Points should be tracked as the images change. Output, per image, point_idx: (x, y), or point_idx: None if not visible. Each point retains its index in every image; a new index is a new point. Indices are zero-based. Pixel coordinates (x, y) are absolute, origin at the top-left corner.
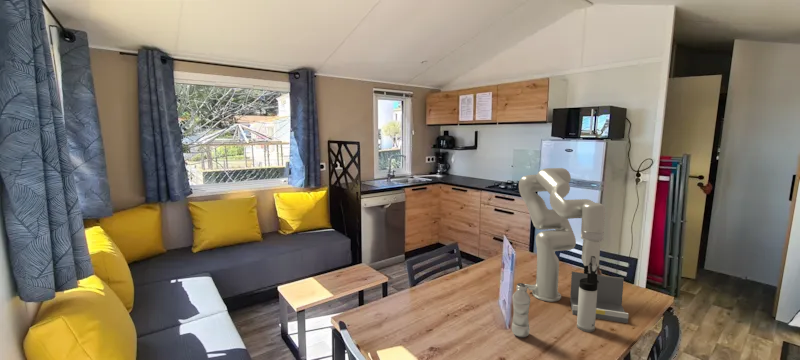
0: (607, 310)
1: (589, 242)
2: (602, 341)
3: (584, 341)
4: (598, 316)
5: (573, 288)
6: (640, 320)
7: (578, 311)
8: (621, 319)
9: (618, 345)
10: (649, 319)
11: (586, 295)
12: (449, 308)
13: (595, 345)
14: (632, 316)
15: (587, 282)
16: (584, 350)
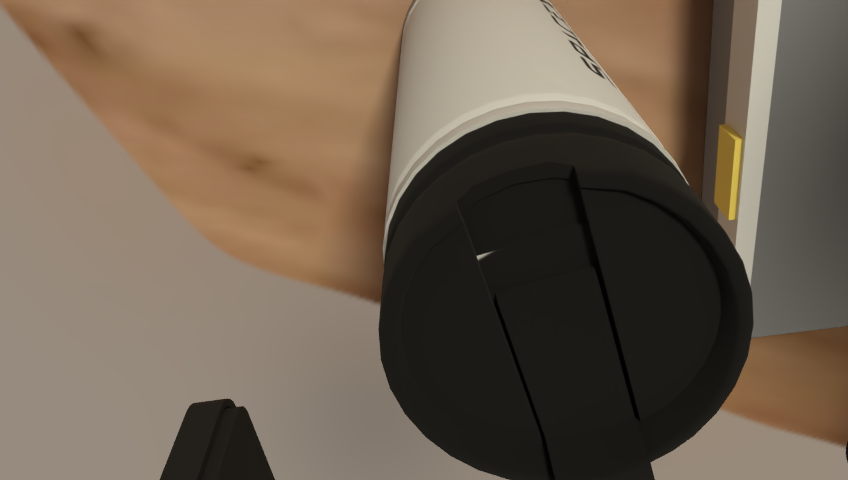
0: (744, 238)
1: None
2: (319, 169)
3: (229, 43)
4: (712, 142)
5: None
6: (769, 382)
7: (450, 7)
8: None
9: (328, 261)
10: (801, 423)
11: (387, 199)
12: None
13: (224, 124)
14: (821, 346)
15: (195, 408)
16: (86, 50)
